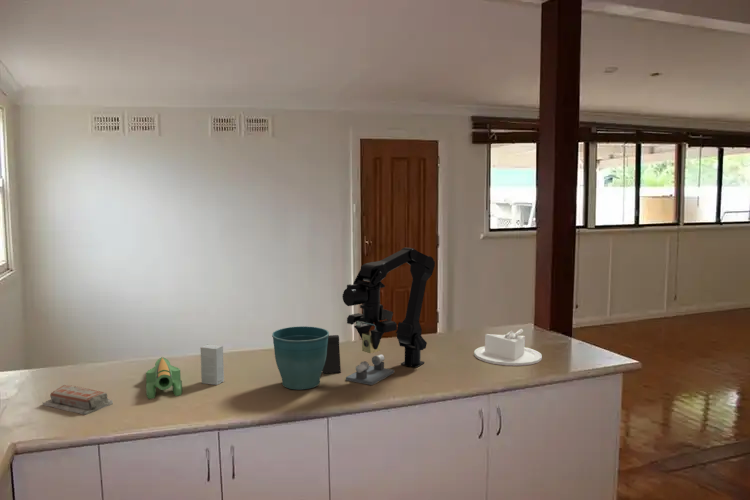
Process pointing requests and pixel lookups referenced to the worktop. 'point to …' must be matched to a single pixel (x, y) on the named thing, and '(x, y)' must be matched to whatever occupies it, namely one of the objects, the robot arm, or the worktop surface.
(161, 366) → the toy spaceship
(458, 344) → the worktop surface
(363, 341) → the tan block
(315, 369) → the flower pot
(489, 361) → the dish
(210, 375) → the skincare box
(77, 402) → the packaged product
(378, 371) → the grey plate with pegs
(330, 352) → the phone stand
